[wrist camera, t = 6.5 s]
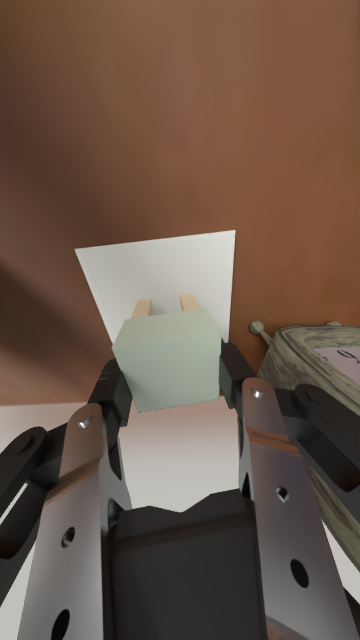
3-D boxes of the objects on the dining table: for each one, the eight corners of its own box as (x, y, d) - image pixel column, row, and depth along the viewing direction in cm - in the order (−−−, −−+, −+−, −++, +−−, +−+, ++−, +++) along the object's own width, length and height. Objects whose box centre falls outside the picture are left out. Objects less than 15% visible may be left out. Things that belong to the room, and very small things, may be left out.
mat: (76, 248, 13) (74, 249, 12) (233, 230, 13) (235, 230, 13) (123, 365, 19) (122, 368, 19) (226, 349, 20) (227, 351, 20)
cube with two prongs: (135, 298, 13) (111, 347, 7) (194, 290, 13) (221, 331, 7) (147, 346, 16) (138, 412, 10) (197, 339, 16) (219, 399, 10)
